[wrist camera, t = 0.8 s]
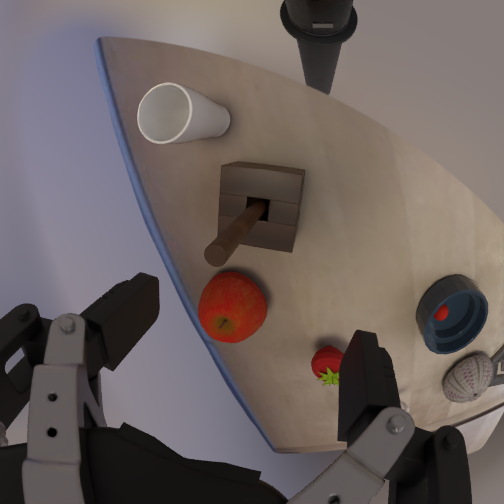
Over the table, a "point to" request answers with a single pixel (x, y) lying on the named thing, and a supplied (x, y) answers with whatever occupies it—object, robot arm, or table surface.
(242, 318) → the apple
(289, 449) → the table surface
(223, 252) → the stirring stick
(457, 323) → the bowl
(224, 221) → the holder
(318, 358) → the strawberry
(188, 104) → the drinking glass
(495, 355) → the grey hexagonal plate
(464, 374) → the sea urchin shell
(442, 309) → the ball
